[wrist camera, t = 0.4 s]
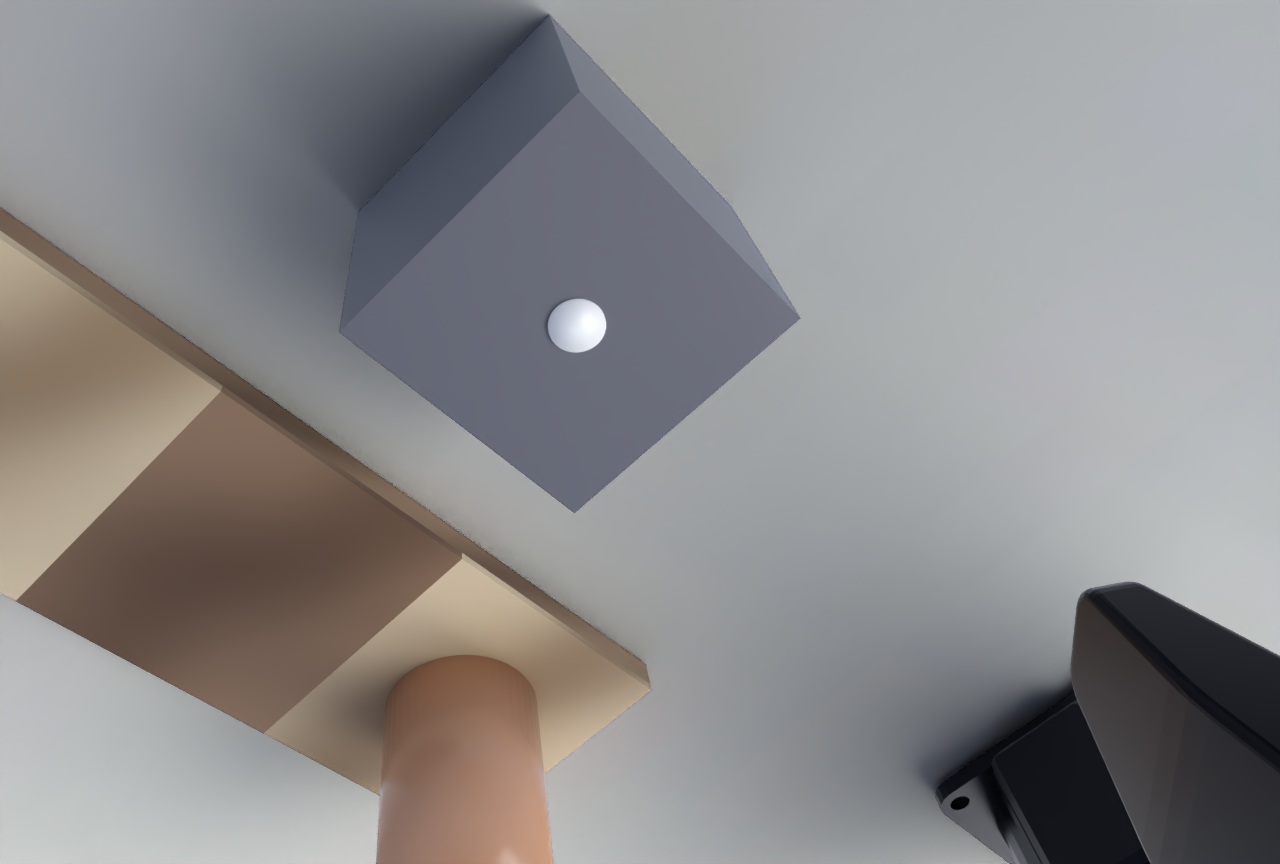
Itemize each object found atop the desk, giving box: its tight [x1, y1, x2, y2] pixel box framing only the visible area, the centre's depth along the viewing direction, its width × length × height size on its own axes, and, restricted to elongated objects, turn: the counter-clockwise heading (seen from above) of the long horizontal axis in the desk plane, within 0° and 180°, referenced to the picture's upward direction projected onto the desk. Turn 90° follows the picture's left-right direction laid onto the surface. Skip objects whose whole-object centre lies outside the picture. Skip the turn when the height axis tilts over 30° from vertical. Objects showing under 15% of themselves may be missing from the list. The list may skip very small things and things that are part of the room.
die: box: [339, 14, 800, 513], centre depth 17 cm, size 5×4×4 cm
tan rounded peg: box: [376, 655, 554, 864], centre depth 21 cm, size 3×3×7 cm
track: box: [0, 208, 651, 796], centre depth 20 cm, size 22×6×1 cm, turn 43°
